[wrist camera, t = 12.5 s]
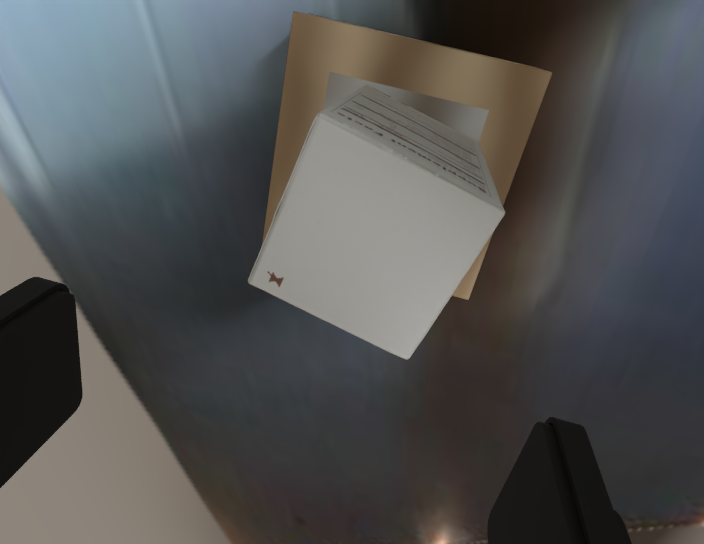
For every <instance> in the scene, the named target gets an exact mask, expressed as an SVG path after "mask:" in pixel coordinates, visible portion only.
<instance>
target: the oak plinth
mask: <svg viewBox="0 0 704 544" xmlns="http://www.w3.org/2000/svg"><path fill="white" fill-rule="evenodd" d="M551 75H552V72H549V71H546V70H543V69H540V68H537V67H533V66H528V65H524V64H520V63H516V62H511V61H507V60H503V59H499V58H494V57H490V56H486V55H482V54H477V53H473V52H469V51H465V50H460V49H456V48H452V47H448V46H443V45H439V44H435V43H431V42H426V41H422V40H418V39H414V38H409V37H405V36H401V35H397V34H392V33H388V32H384V31H380V30H375V29H371V28H367V27H363V26H359V25H354V24H350V23H346V22H342V21H337V20H333V19H329V18H325V17H320V16H316V15H312V14H306V13H299V12H293V18H292V25H291V33H290V40H289V48H288V55H287V62H286V70H285V77H284V85H283V92H282V100H281V107H280V115H279V122H278V130H277V137H276V145H275V152H274V160H273V167H272V174H271V182H270V189H269V197H268V204H267V212H266V219H265V227H264V234H263V242H262V245H263V243H264V240H265V238H266V235H267V233H268V231H269V228H270V226H271V223H272V221H273V218H274V214H275V211H276V209H277V207H278V205H279V202H280V200H281V198H282V196H283V194H284V191H285V189H286V186H287V184H288V181H289V179H290V177H291V174H292V172H293V169H294V167H295V164H296V162H297V159H298V157H299V155H300V152H301V150H302V147H303V145H304V142H305V140H306V137H307V135H308V133H309V130H310V128H311V125H312V123H313V120H314V118H315V117H316V115H317V114H318V113H319V112H321V111H323V110H324V109H326V108H328V107H329V106H331V105H333V104H335V103H336V102H338V101H340V100H341V99H343V98H345V97H346V96H348V95H350V94H352V93H353V92H355V91H357V90H358V89H360V88H361V87H363V86H365V85H368V86H371V87H373V88H375V89H377V90H379V91H380V92H382V93H384V94H386V95H388V96H390V97H392V98H394V99H396V100H398V101H400V102H402V103H404V104H406V105H408V106H410V107H412V108H413V109H415V110H417V111H419V112H421V113H423V114H425V115H427V116H429V117H431V118H433V119H435V120H437V121H439V122H440V123H442V124H444V125H446V126H448V127H450V128H452V129H454V130H456V131H458V132H460V133H462V134H464V135H466V136H468V137H470V138H472V139H474V140H476V141H478V142H479V143H480V146H481V148H482V151H483V154H484V157H485V159H486V162H487V165H488V168H489V170H490V173H491V176H492V178H493V181H494V184H495V186H496V189H497V192H498V195H499V197H500V200H501V203H502V206H503V205H504V202H505V199H506V197H507V194H508V191H509V189H510V186H511V183H512V180H513V178H514V175H515V172H516V170H517V167H518V164H519V161H520V159H521V156H522V153H523V151H524V148H525V145H526V143H527V140H528V137H529V134H530V132H531V129H532V126H533V124H534V121H535V118H536V116H537V113H538V110H539V107H540V105H541V102H542V99H543V97H544V94H545V91H546V89H547V86H548V83H549V80H550V78H551ZM492 234H493V233H492ZM491 237H492V235H491ZM491 237H490V238H489V240H488V241H487V243H486V244H485V246H484V247H483V249H482V250H481V252H480V253H479V255H478V257H477V258H476V260H475V261H474V263H473V264H472V266H471V267H470V269H469V270H468V272H467V273H466V275H465V276H464V278H463V279H462V281H461V282H460V284H459V285H458V287H457V288H456V290H455V291H454V293H453V294H452V296H456V297H459V298H463V299H467V300H468V299H469V297H470V294H471V291H472V288H473V286H474V283H475V280H476V278H477V275H478V272H479V270H480V267H481V264H482V261H483V259H484V256H485V253H486V251H487V248H488V245H489V243H490V240H491Z"/></svg>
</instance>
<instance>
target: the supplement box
mask: <svg viewBox="0 0 704 544" xmlns="http://www.w3.org/2000/svg"><path fill="white" fill-rule="evenodd" d="M504 215H505V211H504V208H503V206H502V203H501V200H500V197H499V195H498V192H497V189H496V186H495V184H494V181H493V178H492V176H491V173H490V170H489V168H488V165H487V162H486V159H485V157H484V154H483V151H482V148H481V146H480V143H479V142H478V141H476V140H474V139H472V138H470V137H468V136H466V135H464V134H462V133H460V132H458V131H456V130H454V129H452V128H450V127H448V126H446V125H444V124H442V123H440V122H439V121H437V120H435V119H433V118H431V117H429V116H427V115H425V114H423V113H421V112H419V111H417V110H415V109H413V108H412V107H410V106H408V105H406V104H404V103H402V102H400V101H398V100H396V99H394V98H392V97H390V96H388V95H386V94H384V93H382V92H380V91H379V90H377V89H375V88H373V87H371V86H368V85H365V86H363V87H361V88H360V89H358V90H357V91H355V92H353V93H352V94H350V95H348V96H346V97H345V98H343V99H341V100H340V101H338V102H336V103H335V104H333V105H331V106H329V107H328V108H326V109H324V110H323V111H321V112H319V113H318V114H317V115H316V117H315V118H314V120H313V123H312V125H311V128H310V130H309V133H308V135H307V137H306V140H305V142H304V145H303V147H302V150H301V152H300V155H299V157H298V159H297V162H296V164H295V167H294V169H293V172H292V174H291V177H290V179H289V181H288V184H287V186H286V189H285V191H284V194H283V196H282V198H281V200H280V202H279V205H278V207H277V209H276V211H275V214H274V218H273V221H272V223H271V226H270V228H269V231H268V233H267V235H266V238H265V240H264V243H263V245H262V247H261V250H260V252H259V255H258V257H257V259H256V262H255V264H254V267H253V269H252V271H251V274H250V276H249V278H248V282H249V284H251V285H253V286H255V287H257V288H259V289H261V290H264V291H266V292H268V293H270V294H272V295H274V296H276V297H278V298H280V299H282V300H284V301H286V302H288V303H290V304H292V305H294V306H296V307H298V308H300V309H302V310H304V311H306V312H308V313H310V314H312V315H314V316H316V317H318V318H320V319H322V320H325V321H327V322H329V323H331V324H333V325H335V326H337V327H339V328H341V329H343V330H345V331H347V332H349V333H351V334H353V335H355V336H357V337H359V338H361V339H364V340H366V341H368V342H370V343H372V344H374V345H376V346H378V347H380V348H382V349H384V350H386V351H388V352H390V353H392V354H394V355H397V356H399V357H401V358H404V359H409V358H410V357H411V355H412V354H413V352H414V351H415V350H416V348H417V347H418V345H419V344H420V342H421V341H422V340H423V338H424V337H425V335H426V334H427V332H428V331H429V329H430V328H431V326H432V325H433V323H434V322H435V320H436V319H437V317H438V315H439V314H440V312H441V311H442V309H443V308H444V306H445V305H446V303H447V302H448V300H449V299H450V297H451V296H452V294H453V293H454V291H455V290H456V288H457V287H458V285H459V284H460V282H461V281H462V279H463V278H464V276H465V275H466V273H467V272H468V270H469V269H470V267H471V266H472V264H473V263H474V261H475V260H476V258H477V257H478V255H479V253H480V252H481V250H482V249H483V247H484V246H485V244H486V243H487V241H488V240H489V238H490V237H491V235H492V233H493V232H494V230H495V229H496V227H497V226H498V224H499V222H500V221H501V219H502V218H503V217H504Z"/></svg>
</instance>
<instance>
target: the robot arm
mask: <svg viewBox="0 0 704 544" xmlns="http://www.w3.org/2000/svg"><path fill="white" fill-rule="evenodd" d="M81 399H82V382H81V369H80V357H79V343H78V330H77V318H76V304H75V298H74V296H73V295H72V294H70V292H69V289H68V287H67V286H66V285H64V284H62V283H58V282H54V281H51V280H47V279H43V278H40V277H33V278H30V279H28V280H26V281H24V282H23V283H21V284H19V285H18V286H16V287H14V288H13V289H11V290H9V291H7V292H6V293H4V294H2V295H1V296H0V488H1V487H2V486H3V485H4V484H5V483H6V482H7V481H8V480H9V479H10V478H11V477H12V476H13V475H14V474H15V473H16V471H18V470H19V469H20V468H21V467H22V466H23V464H24V463H25V462H26V461H27V460H28V459H29V458H30V457H31V456H32V455H33V454H34V453H35V452H36V451H37V450H38V449H39V448H40V447H41V446H42V445H43V444H44V443H45V442H46V441H47V440H48V439H49V438H50V437H51V436H52V435H53V434H54V433H55V432H56V431H57V430H58V429H59V428H60V427H61V426H62V425H63V424H64V423H65V421H67V420H68V418H69V417H71V415H72V414H73V413H74V412H75V411H76V410H77V408H78V407H79V405H80V402H81ZM488 544H632V543H631V541H630V538H629V535H628V532H627V529H626V527H625V524H624V522H623V520H622V518H621V516H620V515H619V514H618V513H617V512H616V511H615V510H613V507H612V504H611V502H610V499H609V496H608V493H607V490H606V487H605V484H604V482H603V479H602V476H601V473H600V470H599V467H598V464H597V461H596V459H595V456H594V453H593V450H592V447H591V444H590V441H589V439H588V436H587V433H586V430H585V429H584V427H583V426H581V425H579V424H575V423H571V422H568V421H564V420H560V419H557V418H553V417H550V418H549V419H547V420H546V422H545V423H542V422H537V423H536V424H535V426H534V428H533V429H532V431H531V433H530V435H529V437H528V439H527V441H526V443H525V445H524V447H523V449H522V451H521V453H520V455H519V457H518V459H517V461H516V463H515V465H514V467H513V469H512V471H511V473H510V475H509V477H508V479H507V481H506V483H505V485H504V487H503V489H502V490H501V492H500V494H499V496H498V498H497V500H496V502H495V504H494V506H493V508H492V510H491V513H490V516H489V520H488Z"/></svg>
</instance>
